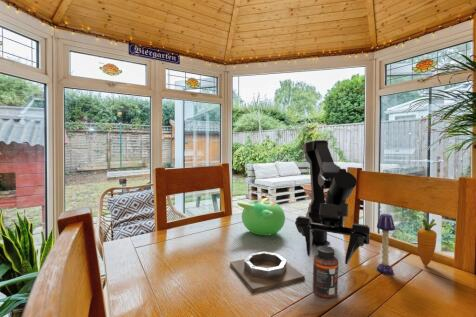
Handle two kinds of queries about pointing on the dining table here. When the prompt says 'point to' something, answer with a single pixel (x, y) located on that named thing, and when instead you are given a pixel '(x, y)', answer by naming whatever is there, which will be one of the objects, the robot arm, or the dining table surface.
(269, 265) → the stand
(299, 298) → the dining table surface
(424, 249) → the carrot
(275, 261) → the ring
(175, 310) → the dining table surface
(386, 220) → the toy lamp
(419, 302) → the dining table surface
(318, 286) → the supplement bottle
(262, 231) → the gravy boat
